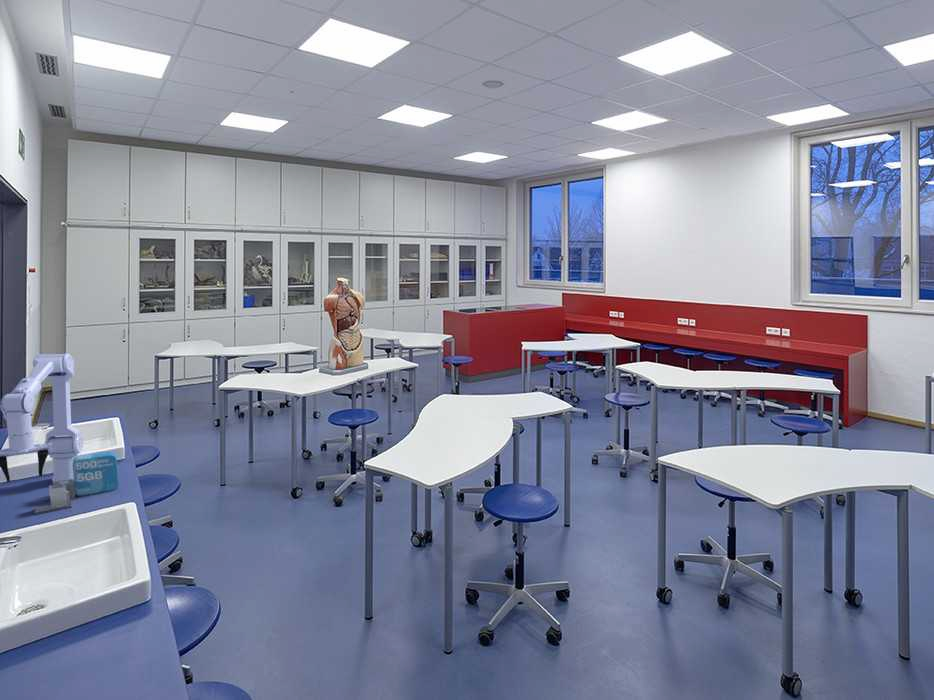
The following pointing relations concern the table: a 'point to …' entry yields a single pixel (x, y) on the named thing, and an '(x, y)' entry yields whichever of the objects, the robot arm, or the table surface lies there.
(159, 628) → the table surface
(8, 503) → the table surface
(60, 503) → the metal plug
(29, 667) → the table surface
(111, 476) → the data package
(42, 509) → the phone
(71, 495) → the cube
